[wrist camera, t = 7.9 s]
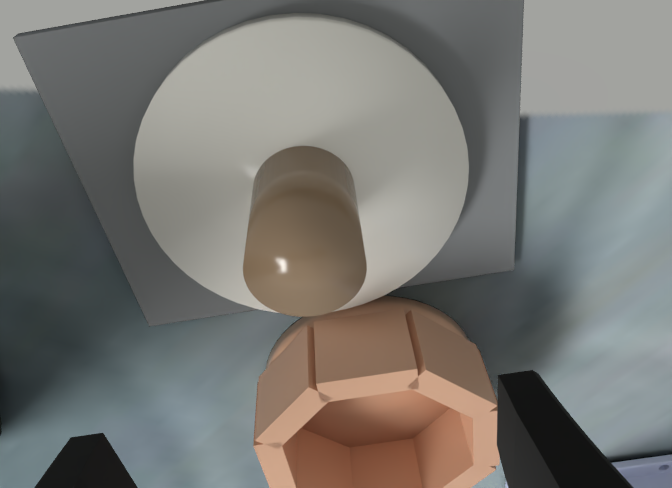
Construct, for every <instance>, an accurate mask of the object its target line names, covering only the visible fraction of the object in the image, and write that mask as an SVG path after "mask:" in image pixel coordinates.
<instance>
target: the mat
mask: <svg viewBox="0 0 672 488" xmlns="http://www.w3.org/2000/svg"><path fill="white" fill-rule="evenodd" d="M523 9H524V0H205V1H199V2H194V3H188V4H182V5H177V6H171V7H165V8H160V9H154V10H148V11H143V12H138V13H132V14H126V15H120V16H115V17H109V18H103V19H98V20H92V21H87V22H81V23H75V24H70V25H64V26H58V27H53V28H47V29H42V30H36V31H31V32H25V33H20V34H17V35H16V36H15V37H13V39H14V41H15V43H16V45H17V47H18V49H19V52H20V54H21V56H22V58H23V60H24V62H25V64H26V67H27V69H28V71H29V73H30V75H31V77H32V79H33V81H34V83H35V86H36V88H37V90H38V92H39V94H40V96H41V98H42V100H43V103H44V105H45V107H46V109H47V111H48V113H49V115H50V117H51V119H52V122H53V124H54V126H55V128H56V130H57V132H58V134H59V136H60V138H61V141H62V143H63V145H64V147H65V149H66V151H67V153H68V155H69V158H70V160H71V162H72V164H73V166H74V168H75V170H76V172H77V174H78V177H79V179H80V181H81V183H82V185H83V187H84V189H85V191H86V193H87V196H88V198H89V200H90V202H91V204H92V206H93V208H94V210H95V213H96V215H97V217H98V219H99V221H100V223H101V225H102V227H103V229H104V232H105V234H106V236H107V238H108V240H109V242H110V244H111V246H112V248H113V251H114V253H115V255H116V257H117V259H118V261H119V263H120V265H121V268H122V270H123V272H124V274H125V276H126V278H127V280H128V282H129V284H130V287H131V289H132V291H133V293H134V295H135V297H136V299H137V301H138V303H139V306H140V308H141V310H142V312H143V314H144V316H145V318H146V320H147V323H148V325H149V326H155V325H162V324H168V323H175V322H181V321H187V320H194V319H200V318H207V317H213V316H220V315H226V314H233V313H239V312H246V311H252V310H259V309H255V308H252V307H249V306H245V305H242V304H239V303H236V302H234V301H231V300H229V299H227V298H224V297H222V296H220V295H218V294H216V293H214V292H212V291H211V290H209V289H207V288H205V287H203V286H202V285H201V284H199V283H198V282H196V281H195V280H194V279H192V278H191V277H189V276H188V275H187V274H186V273H185V272H184V271H182V270H181V269H180V268H179V267H178V266H177V265H176V264H175V263H174V262H173V261H172V260H171V259H170V258H169V257H168V255H167V254H166V253H165V252H164V251H163V250H162V248H161V247H160V245H159V244H158V242H157V241H156V239H155V238H154V236H153V235H152V233H151V231H150V229H149V227H148V225H147V223H146V221H145V219H144V217H143V215H142V212H141V209H140V205H139V202H138V199H137V195H136V189H135V183H134V162H133V159H134V152H135V144H136V138H137V135H138V132H139V128H140V125H141V122H142V119H143V117H144V115H145V113H146V111H147V109H148V107H149V104H150V102H151V100H152V98H153V97H154V95H155V93H156V91H157V89H158V88H159V86H160V85H161V83H162V82H163V81H164V79H165V78H166V76H167V75H168V73H169V72H170V71H171V70H172V69H173V68H174V67H175V66H176V65H177V64H178V62H179V61H180V60H181V59H182V58H183V57H184V56H185V55H186V54H188V53H189V52H190V51H192V50H193V49H194V48H195V47H197V46H198V45H199V44H201V43H202V42H203V41H205V40H207V39H208V38H210V37H212V36H214V35H215V34H217V33H219V32H221V31H222V30H224V29H227V28H229V27H232V26H235V25H237V24H240V23H242V22H245V21H248V20H252V19H256V18H261V17H265V16H269V15H277V14H288V13H313V14H324V15H330V16H335V17H341V18H346V19H349V20H352V21H355V22H358V23H361V24H364V25H367V26H369V27H371V28H373V29H375V30H378V31H380V32H382V33H384V34H386V35H388V36H390V37H391V38H393V39H394V40H396V41H397V42H398V43H400V44H401V45H403V46H404V47H406V48H407V49H409V50H410V51H411V52H412V53H413V54H414V55H415V56H416V57H417V58H419V59H420V60H421V61H422V62H423V63H424V64H425V65H426V66H427V67H428V69H429V70H430V71H431V72H432V74H433V75H434V76H435V77H436V78H437V80H438V81H439V83H440V84H441V86H442V88H443V89H444V91H445V93H446V94H447V96H448V98H449V99H450V101H451V103H452V105H453V107H454V108H455V111H456V113H457V115H458V118H459V120H460V123H461V125H462V128H463V131H464V136H465V140H466V144H467V149H468V161H469V175H468V187H467V192H466V197H465V201H464V205H463V208H462V211H461V213H460V216H459V219H458V222H457V223H456V225H455V227H454V229H453V231H452V233H451V235H450V237H449V238H448V240H447V241H446V243H445V244H444V245H443V247H442V248H441V250H440V251H439V252H438V254H437V255H436V256H435V257H434V258H433V259H432V260H431V261H430V262H429V263H428V265H427V266H426V267H424V268H423V269H422V270H421V271H420V272H419V273H417V274H416V275H415V276H414V277H413V278H411V279H410V280H409V281H407V282H406V283H404V284H403V285H401V286H400V287H398V288H401V287H408V286H414V285H421V284H427V283H434V282H440V281H447V280H453V279H459V278H466V277H472V276H479V275H485V274H492V273H498V272H505V271H511V270H514V259H515V231H516V203H517V175H518V148H519V120H520V92H521V65H522V63H521V62H522V37H523Z"/></svg>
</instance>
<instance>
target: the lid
mask: <svg viewBox="0 0 672 488" xmlns="http://www.w3.org/2000/svg"><path fill="white" fill-rule="evenodd" d="M133 162H134V183H135V189H136V195H137V199H138V202H139V205H140V209H141V212H142V215H143V217H144V219H145V221H146V223H147V225H148V227H149V229H150V231H151V233H152V235H153V236H154V238H155V239H156V241H157V242H158V244H159V245H160V247H161V248H162V250H163V251H164V252H165V253H166V254H167V255H168V257H169V258H170V259H171V260H172V261H173V262H174V263H175V264H176V265H177V266H178V267H179V268H180V269H181V270H182V271H184V272H185V273H186V274H187V275H188V276H189V277H191V278H192V279H194V280H195V281H196V282H198V283H199V284H201V285H202V286H203V287H205V288H207V289H209V290H211V291H212V292H214V293H216V294H218V295H220V296H222V297H224V298H227V299H229V300H231V301H234V302H236V303H239V304H242V305H245V306H249V307H252V308H255V309H260V310H265V311H270V312H277V313H282V314H285V315H290V316H298V317H310V316H318V315H323V314H326V313H330V312H333V311H339V310H344V309H348V308H352V307H355V306H358V305H362V304H365V303H367V302H370V301H372V300H375V299H377V298H380V297H382V296H384V295H386V294H387V293H389V292H391V291H393V290H395V289H397V288H398V287H400V286H401V285H403V284H404V283H406V282H407V281H409V280H410V279H411V278H413V277H414V276H415V275H416V274H417V273H419V272H420V271H421V270H422V269H423V268H424V267H426V266H427V265H428V263H429V262H430V261H431V260H432V259H433V258H434V257H435V256H436V255H437V254H438V252H439V251H440V250H441V248H442V247H443V245H444V244H445V243H446V241H447V240H448V238H449V237H450V235H451V233H452V231H453V229H454V227H455V225H456V223H457V222H458V219H459V216H460V213H461V211H462V208H463V205H464V201H465V197H466V192H467V187H468V175H469V161H468V149H467V144H466V140H465V136H464V131H463V128H462V125H461V123H460V120H459V118H458V115H457V113H456V111H455V108H454V107H453V105H452V103H451V101H450V99H449V98H448V96H447V94H446V93H445V91H444V89H443V88H442V86H441V84H440V83H439V81H438V80H437V78H436V77H435V76H434V75H433V74H432V72H431V71H430V70H429V69H428V67H427V66H426V65H425V64H424V63H423V62H422V61H421V60H420V59H419V58H417V57H416V56H415V55H414V54H413V53H412V52H411V51H410V50H409V49H407V48H406V47H404V46H403V45H401V44H400V43H398V42H397V41H396V40H394V39H393V38H391V37H390V36H388V35H386V34H384V33H382V32H380V31H378V30H375V29H373V28H371V27H369V26H367V25H364V24H361V23H358V22H355V21H352V20H349V19H346V18H341V17H335V16H330V15H324V14H313V13H288V14H277V15H269V16H265V17H261V18H256V19H252V20H248V21H245V22H242V23H240V24H237V25H235V26H232V27H229V28H227V29H224V30H222V31H221V32H219V33H217V34H215V35H214V36H212V37H210V38H208V39H207V40H205V41H203V42H202V43H201V44H199V45H198V46H197V47H195V48H194V49H193V50H192V51H190V52H189V53H188V54H186V55H185V56H184V57H183V58H182V59H181V60H180V61H179V62H178V64H177V65H176V66H175V67H174V68H173V69H172V70H171V71H170V72H169V73H168V75H167V76H166V78H165V79H164V81H163V82H162V83H161V85H160V86H159V88H158V89H157V91H156V93H155V95H154V97H153V98H152V100H151V102H150V104H149V107H148V109H147V111H146V113H145V115H144V117H143V119H142V122H141V125H140V128H139V132H138V135H137V138H136V144H135V152H134V159H133Z"/></svg>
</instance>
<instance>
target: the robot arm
mask: <svg viewBox="0 0 672 488" xmlns="http://www.w3.org/2000/svg"><path fill="white" fill-rule="evenodd" d="M497 448H498V451H499V455H500V459H501V463H502V466H503V470H504V474H505V478H506V483H505V488H672V454H671V455H663V456H656V457H649V458H642V459H635V460H628V461H620V462H613V463H611V462H610V461H609V460H608V459H607V458H606V457H605V456H604V455H603V453H602V452H601V451H600V450H599V449H598V448H597V447H596V445H595V444H594V443H593V442H592V441H591V440H590V438H589V437H588V436H587V435H586V434H585V432H584V431H583V430H582V429H581V428H580V426H579V425H578V424H577V423H576V422H575V421H574V419H573V418H572V417H571V416H570V414H569V413H568V412H567V411H566V409H565V408H564V407H563V406H562V404H561V403H560V402H559V401H558V399H557V398H556V397H555V395H554V394H553V393H552V392H551V390H550V389H549V388H548V386H547V385H546V384H545V382H544V381H543V380H542V378H541V377H540V375H539V374H538V373H536V372H535V371H533V370H530V371H524V372H517V373H510V374H503V375H498V404H497ZM35 488H137V486H136V484H135V483H134V481H133V480H132V478H131V477H130V475H129V473H128V472H127V470H126V469H125V467H124V465H123V464H122V462H121V461H120V459H119V457H118V456H117V454H116V453H115V451H114V449H113V448H112V446H111V445H110V443H109V442H108V440H107V438H106V437H105V435H104V434H103V433H99V434H92V435H85V436H78V437H71V438H70V439H69V441H68V442H67V444H66V445H65V446H64V448H63V449H62V450H61V452H60V453H59V454H58V456H57V457H56V458H55V460H54V461H53V463H52V464H51V465H50V467H49V468H48V470H47V471H46V472H45V474H44V475H43V477H42V478H41V479H40V481H39V482H38V484H37V485H36V486H35Z"/></svg>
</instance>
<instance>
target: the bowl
mask: <svg viewBox="0 0 672 488" xmlns="http://www.w3.org/2000/svg"><path fill="white" fill-rule="evenodd" d="M497 404H498V402H497V399H496V396H495V393H494V390H493V387H492V385H491V382H490V379H489V376H488V373H487V371H486V368H485V365H484V362H483V359H482V356H481V354H480V351H479V349H477V346H476V344H474V343H472V342H470V341H469V340H468V338H467V336H466V334H465V333H464V331H463V330H462V329H461V327H460V326H459V325H458V324H457V323H456V322H455V321H454V320H453V319H451V318H450V317H449V316H448V315H446V314H445V313H443V312H442V311H440V310H438V309H436V308H434V307H432V306H430V305H428V304H425V303H422V302H419V301H416V300H411V299H407V298H402V297H393V296H382V297H380V298H377V299H375V300H372V301H370V302H367V303H365V304H362V305H358V306H355V307H352V308H348V309H344V310H339V311H333V312H330V313H326V314H323V315H318V316H310V317H302V318H301V319H299V320H298V321H297V322H295V323H294V324H293V325H291V326H290V327H289V328H288V329H287V330H286V331H285V332H284V333H283V334H282V335H281V337H280V338H279V339H278V340H277V342H276V343H275V345H274V347H273V348H272V350H271V352H270V355H269V357H268V360H267V365H266V370H265V371H264V372H263V373H262V374H261V375H260V376H259V382H258V386H257V401H256V416H255V430H254V445H253V446H254V448H255V451H256V454H257V456H258V459H259V461H260V464H261V466H262V469H263V471H264V474H265V476H266V479H267V482H268V484H269V487H270V488H471V487H472V486H474V485H475V484H477V483H478V482H479V481H481V480H482V479H484V478H485V477H487V476H488V475H489V474H491V473H492V472H494V471H495V470H496V467H495V466H496V465H499V457H500V455H499V451H498V448H497Z"/></svg>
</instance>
